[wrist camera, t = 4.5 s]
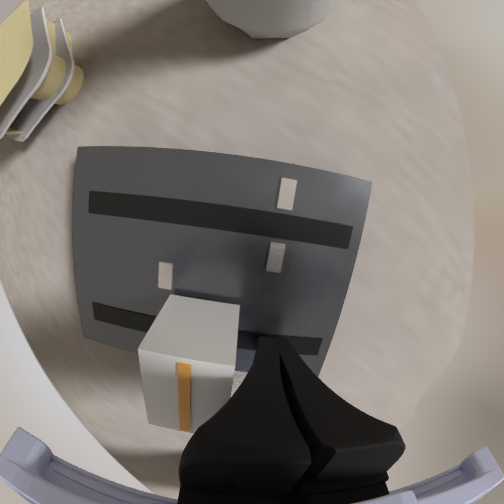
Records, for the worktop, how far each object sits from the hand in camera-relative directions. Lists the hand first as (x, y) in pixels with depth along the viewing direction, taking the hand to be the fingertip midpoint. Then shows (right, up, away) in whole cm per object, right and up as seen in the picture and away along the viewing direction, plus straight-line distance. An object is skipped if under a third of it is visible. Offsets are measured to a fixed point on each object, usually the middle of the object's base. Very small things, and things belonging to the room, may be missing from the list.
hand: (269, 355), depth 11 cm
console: (-3, +4, +2) cm, 6 cm away
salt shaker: (0, +17, -2) cm, 17 cm away
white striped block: (-3, +1, 0) cm, 3 cm away
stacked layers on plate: (-13, +15, -1) cm, 20 cm away
